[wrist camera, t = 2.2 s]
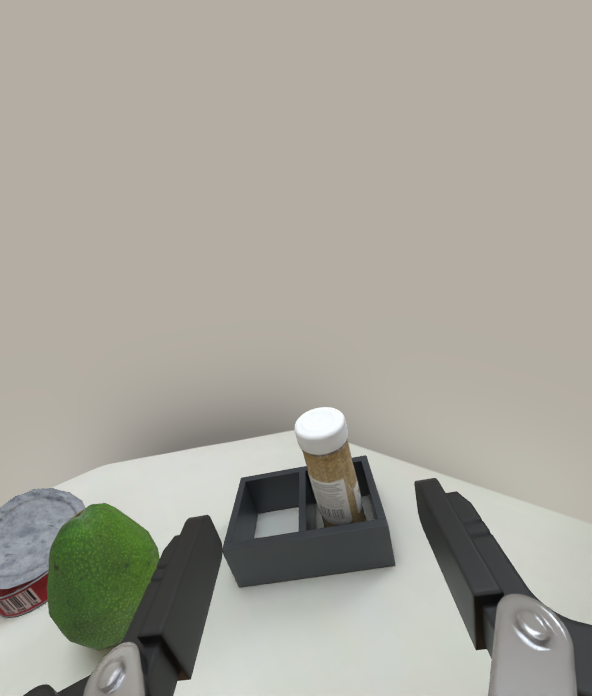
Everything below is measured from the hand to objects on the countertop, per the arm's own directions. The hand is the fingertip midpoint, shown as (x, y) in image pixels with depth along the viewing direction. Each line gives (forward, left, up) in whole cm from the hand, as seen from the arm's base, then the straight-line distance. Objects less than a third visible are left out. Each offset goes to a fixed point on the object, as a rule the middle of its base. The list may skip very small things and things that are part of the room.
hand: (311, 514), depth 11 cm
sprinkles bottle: (0, -13, -18) cm, 23 cm away
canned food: (+35, -14, -18) cm, 42 cm away
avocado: (+21, -8, -18) cm, 29 cm away
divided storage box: (+3, -13, -18) cm, 23 cm away
